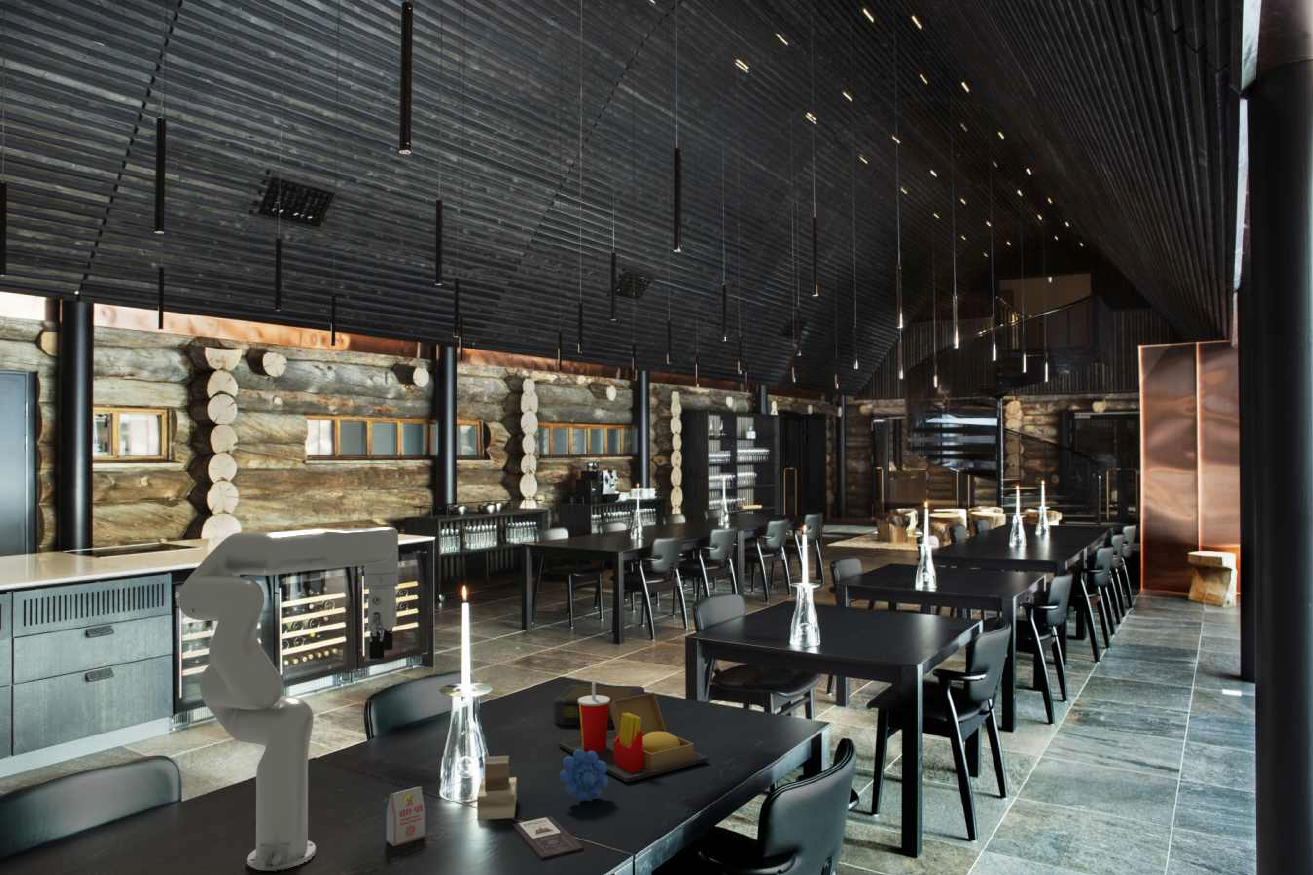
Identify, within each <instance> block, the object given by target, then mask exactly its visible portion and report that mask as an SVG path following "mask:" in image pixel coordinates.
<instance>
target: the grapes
mask: <svg viewBox="0 0 1313 875" xmlns="http://www.w3.org/2000/svg"><path fill="white" fill-rule="evenodd" d="M562 765H563V767H564V769H563V770H561V771H560V774H559V778H560V780H561V781H562V782H563V783H565V784H566V785H565V791H566V793H567V795H569V796H577V798H578V800H579V801H581V802H587V801H588V800H589V799H590V797H592V798H593V799H595V798H596V799H598V798H600V796H602V795H601V794H602V789H601V788H605V787H606V786H608V784H609V779H608V776H607V775H606V774H605V773H607V772H606V770H607V766H606V763H605V762H604V761H600V760H599V761H598V755H597V753H596V752H595V751H589V752H587V754H585V752H584V751H583V750H581V749H577V750H576V751H575V752H574V754H573V755H572V756H566V757H565V758H564V759H563V764H562Z"/></svg>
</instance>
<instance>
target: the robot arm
mask: <svg viewBox="0 0 1313 875" xmlns="http://www.w3.org/2000/svg"><path fill="white" fill-rule="evenodd" d="M361 566H363V568H364V569H363V570H364V572H363V573H364V574H363V575H364V579H363V580H364V581H363V582H364V585H363V586H364V587H363V588H364V589H368V597H367V600H368V601H367V628H368V630H369V631H370V632H369V642H368V643H369V650H368V654H369V657H368V658H369V660H383V659H384V658H385V651H392V650H393V649H394V648H393V647H394V645H393V640H394V638H393V635H394V633H393V628H394V627H395V626H396V625H397V622H398V618H397V617H398V616H397V614H398V613H397V596H396V595H397V594H396V593H397V592H396V587H398V586H399V532H398V530H397V529H396V528H395V527H392V526H381V527H380V526H377V527H370V528H345V529H341V530H333V529H332V530H330V529H300V530H292V531H291V530H289V531H275V532H274V531H272V532H271V531H270V532H267V531H266V532H252V531H251V532H250V531H249V532H245V531H244V532H243V531H241V532H235V533H233V534H231V535H229V536H228V537H226V538H224V540H222V541H221V542H220V543H218V545H217V546H215V548H214V549H213V550H212V551H211V552H210V553H209V554H208V555H207V556H206V557H205V558H204V559H203V561H202V562H201V563H200V564H199V565H198V566H197V567H196V568H195V569H194V571H193V572H192V573H191V574H190V575H189V576H188V577H187V579H186V580H185V581H184V583H183V584H182V586H181V588H180V590H179V592H178V596H177V597H178V598H177V599H178V600H177V602H178V607H179V609H180V611H181V613H182V614H184V616H186V617H187V618H189V619H192V620H197V621H206V622H207V621H209V622H217V623H216V627H215V629H214V632H213V635H212V638H211V641H210V644H209V649H208V656H209V659H210V662H211V663H209V664H208V665H207V666H206V668H205V669H204V671H203V672H202V674H201V677H200V680H199V690H200V696H201V698H202V700H203V703H204V704H205V705H206V707H207V708H208V709H209V711H210V712H211V713H212V715H213V717H215V719H216V720H217V722H218V723H219V724H220V725H221V727H222V728H223V729H224V731H225V732H226V733H227V734H228V735H229V736H230V738H231V737H232V738H233V739H234V740H236V741H238V742H243V743H248V744H253V745H255V744H256V745H262V746H265V749H264V751H263V753H262V756H261V758H260V760H259V761H258V764H257V768H256V771H255V773H256V775H255V786H256V787H255V788H256V789H255V795H256V796H255V849H254V850H252V851H251V852H250V853H249V854H248V856H247V858H246V865H247V864H248V865H249V866H251V867H253V868H255V869H257V870H275V869H285V868H291V867H294V866H297V865H299V866H301V865H300V864H302V865H303V863H304V862H306V863H307V862H309V861H310V860H312V859H313V858H314V857H315V856H316V854H315V853H317V845H316V843H314V842H313V841H312V840H309V800H308V799H309V750H310V743H311V737H312V733H313V728H314V720H315V718H314V711H313V709H312V707H311V705H310V704H308V702H306V701H304V700H303V699H300V698H298V697H293V696H288V695H287V696H285V695H283V692H284V681H283V678H282V676H281V674H280V672H279V670H278V669H277V668H276V666H275V664H274V663H273V661H271V659H270V657H269V655H268V654H267V653H266V651H265V650H264V648H263V647H262V645H261V643H260V641H259V640H258V637H257V633H258V632H257V630H258V629H257V628H258V623H259V621H260V617H261V615H262V612H263V609H264V606H265V605H264V604H265V594H264V590H263V588H262V586H261V585H260V583H258V582H257V581H256V580H254V579H252V578H249V577H245V575H246V576H249V575H250V576H267V577H268V576H277V575H284V574H291V573H292V574H293V573H300V572H308V571H318V570H319V571H321V570H323V571H324V570H331V569H339V568H348V567H361ZM241 575H242V576H241ZM243 575H244V576H243ZM313 856H314V857H313ZM312 857H313V858H312ZM308 860H309V861H308ZM304 864H305V863H304ZM248 865H247V866H248ZM297 867H298V866H297ZM294 868H295V867H294ZM291 869H292V868H291Z"/></svg>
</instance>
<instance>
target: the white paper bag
mask: <svg viewBox="0 0 1313 875" xmlns="http://www.w3.org/2000/svg"><path fill="white" fill-rule="evenodd" d="M425 806H426V805H425V800H424V795H423V787H422V786H416V787H412V788H408V789H404V790H400V791H396V792H393V793H390V794H389V801H388V805H387V809H386V841H387V842H388V843H389V844H391V846H393V847H396V846H399V845H402V844H406V843H409V842H413V841H416V840H419V839H423V838H425V837H426V807H425Z"/></svg>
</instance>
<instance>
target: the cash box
mask: <svg viewBox="0 0 1313 875" xmlns="http://www.w3.org/2000/svg"><path fill="white" fill-rule="evenodd" d="M595 691H596V695H600V696H606V697H608V698H610V701H609V703H610V702H611V701H613V700H617V699H622V698H627V697H632V696H638V695H643V694H645V689H644V687H643V686H639V685H636V686H635V685H609V684H608V685H605V684H604V685H601V684H600V685H599V684H595ZM591 695H592V684H570V685H568V686H567V687H566V688H565V689H564V690H563V691H562V692H561V693H559V695H558V696H557V697H556V698H555V699H553V700H554V701H553V708H554V709H553V715H554V716H553V723H554V724H555V725H561V726H563V725H564V726H581V722H580V711H579V703H578V699H579V698H581V697H584V696H591ZM612 726H614V723H613V719H612V716H611V712H610V708H609V705H608V720H607V727H612Z"/></svg>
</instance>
